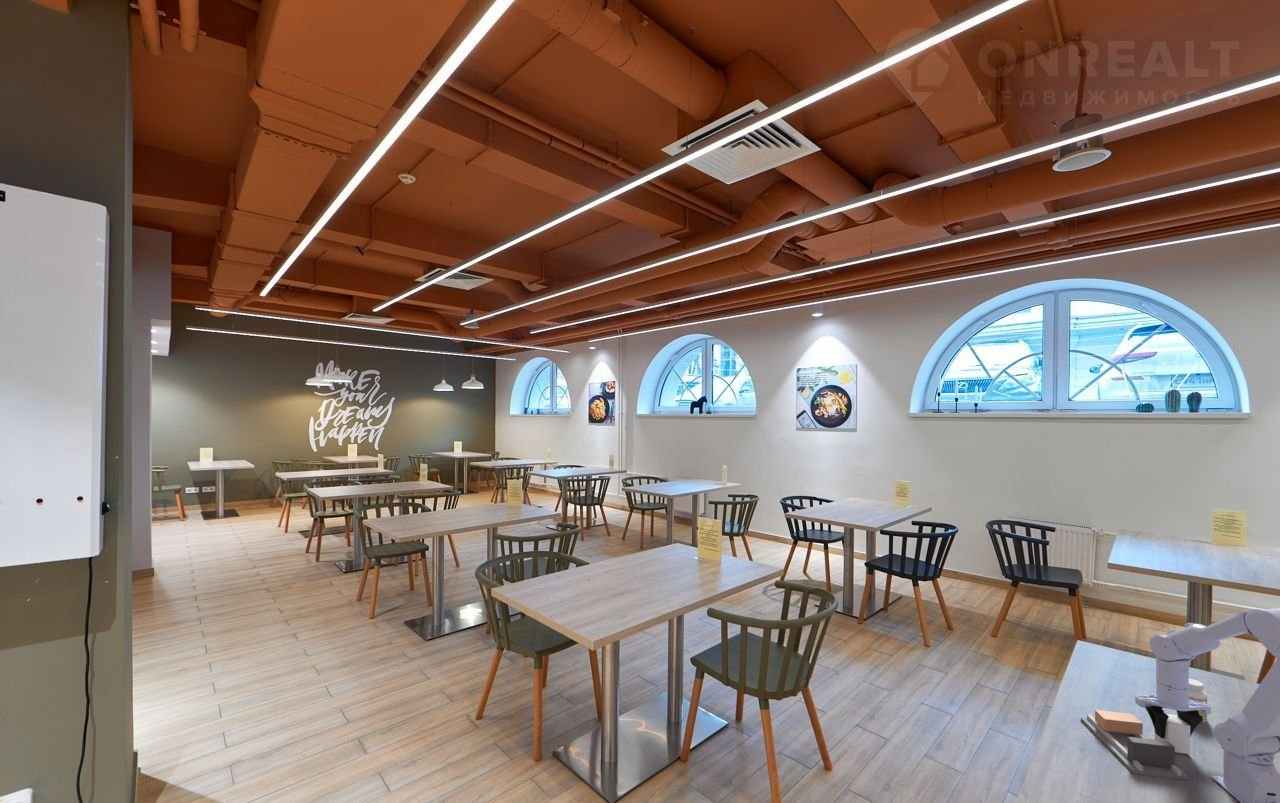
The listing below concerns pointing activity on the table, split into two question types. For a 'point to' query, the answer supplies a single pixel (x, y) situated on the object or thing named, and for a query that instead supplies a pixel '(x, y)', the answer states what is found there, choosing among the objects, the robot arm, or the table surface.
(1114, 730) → the peach block
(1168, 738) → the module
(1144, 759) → the rail holder
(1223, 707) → the table surface
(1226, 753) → the robot arm
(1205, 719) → the supplement bottle
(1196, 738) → the table surface
